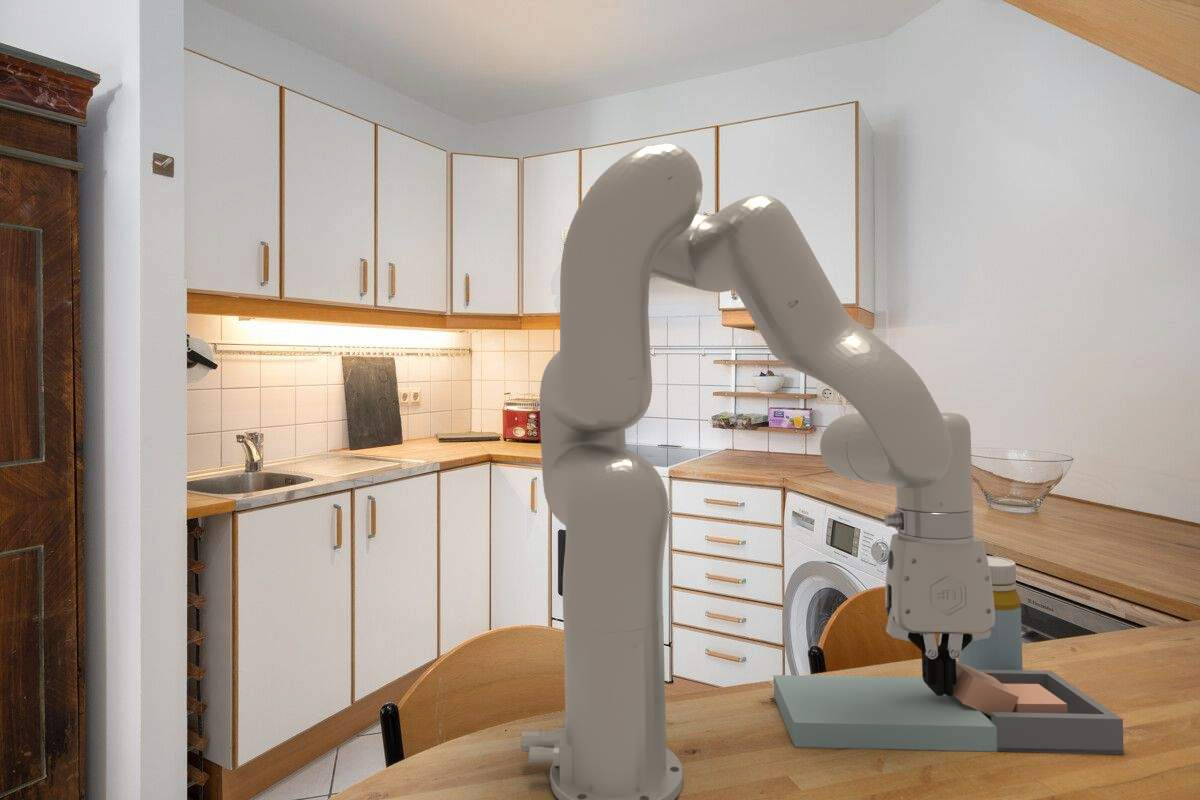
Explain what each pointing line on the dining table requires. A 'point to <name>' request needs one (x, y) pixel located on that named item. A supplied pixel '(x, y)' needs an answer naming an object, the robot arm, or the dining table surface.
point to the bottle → (999, 624)
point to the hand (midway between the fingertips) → (939, 690)
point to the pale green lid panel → (878, 714)
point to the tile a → (982, 691)
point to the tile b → (1036, 699)
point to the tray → (1056, 720)
